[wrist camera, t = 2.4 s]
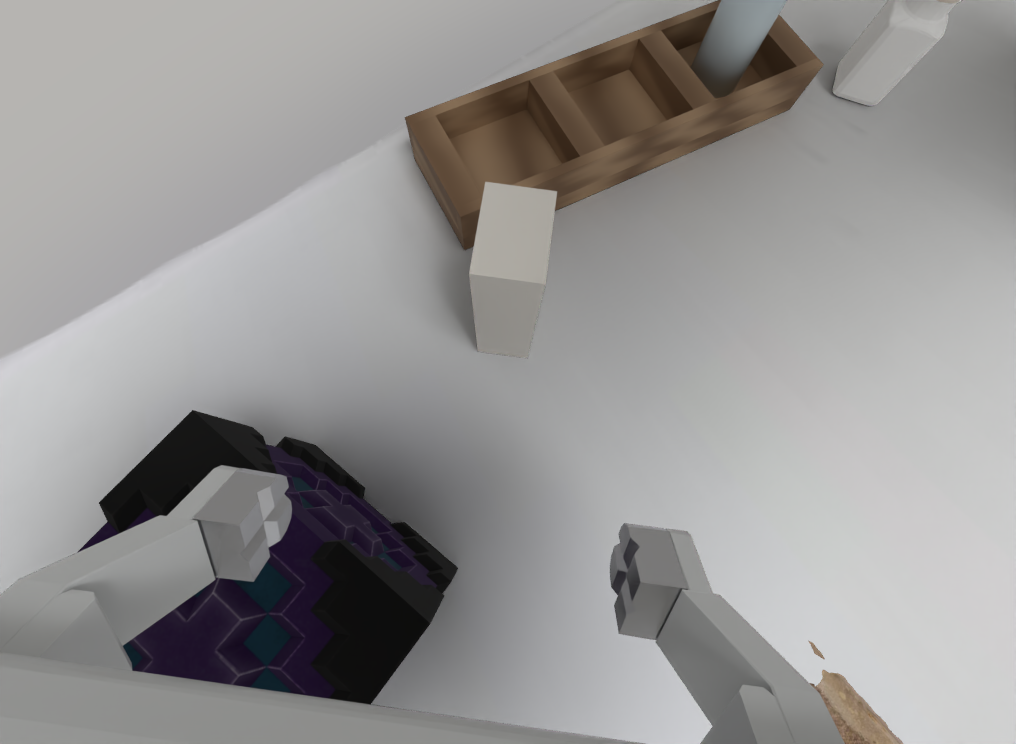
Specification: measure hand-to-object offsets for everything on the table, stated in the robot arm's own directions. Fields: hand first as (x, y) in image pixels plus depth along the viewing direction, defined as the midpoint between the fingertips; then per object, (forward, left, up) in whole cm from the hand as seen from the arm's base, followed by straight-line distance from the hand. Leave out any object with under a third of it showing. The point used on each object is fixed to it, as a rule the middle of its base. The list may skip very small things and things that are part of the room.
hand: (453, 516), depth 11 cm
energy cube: (+11, 0, -18) cm, 21 cm away
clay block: (-7, -10, -18) cm, 22 cm away
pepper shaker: (-44, -16, -18) cm, 50 cm away
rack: (-22, -21, -18) cm, 35 cm away
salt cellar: (-32, -21, -16) cm, 41 cm away
